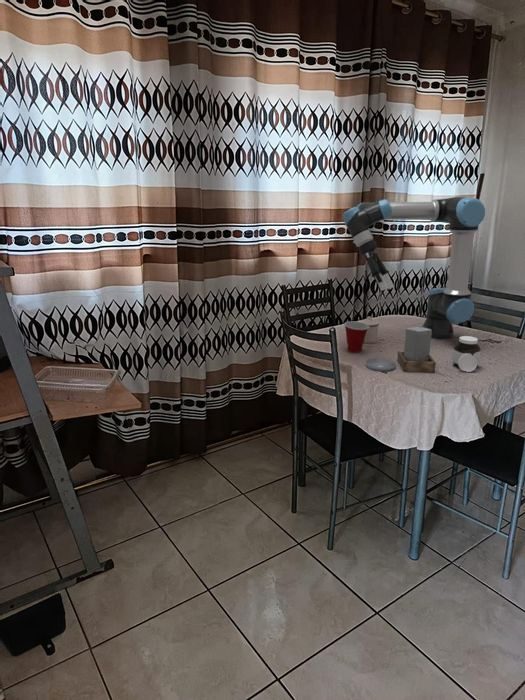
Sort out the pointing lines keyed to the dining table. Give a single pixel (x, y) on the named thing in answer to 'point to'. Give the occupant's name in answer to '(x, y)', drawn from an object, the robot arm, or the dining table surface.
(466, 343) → the spread jar
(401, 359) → the walnut collar
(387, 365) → the slate plate
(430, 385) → the dining table surface
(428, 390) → the dining table surface
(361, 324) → the plastic cup
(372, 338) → the teacup with lid
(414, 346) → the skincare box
